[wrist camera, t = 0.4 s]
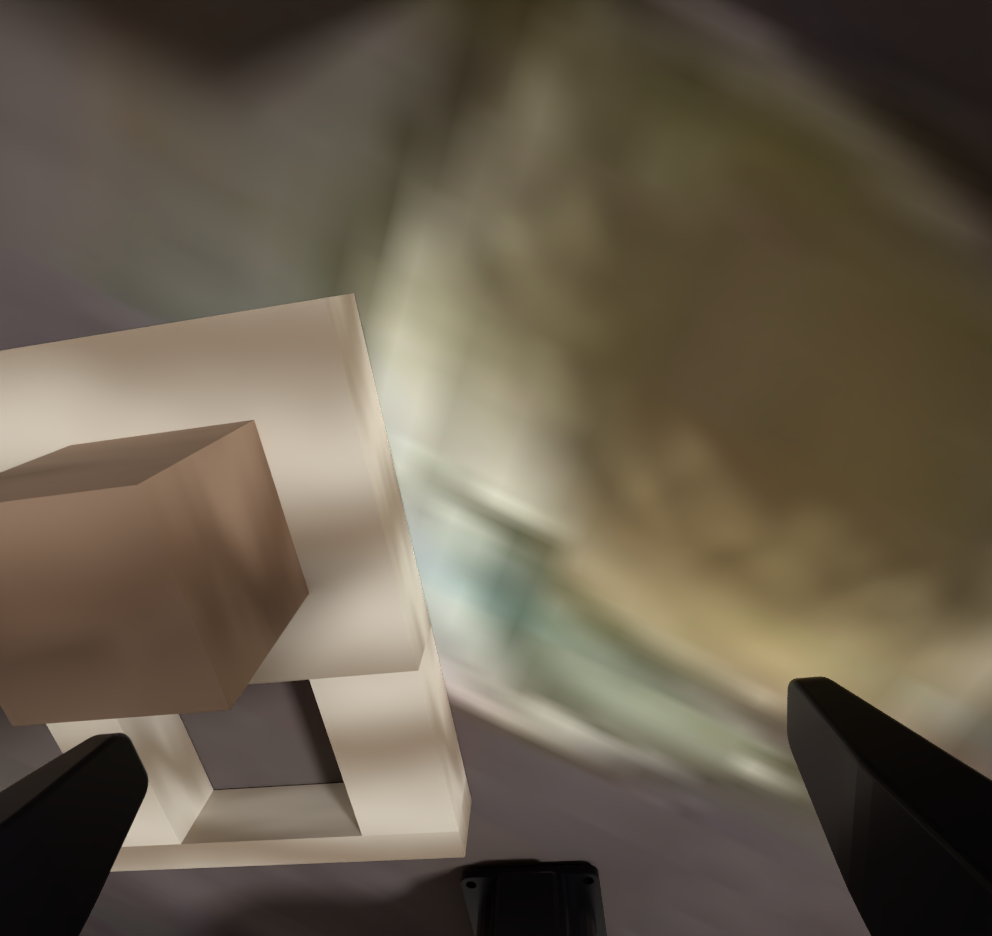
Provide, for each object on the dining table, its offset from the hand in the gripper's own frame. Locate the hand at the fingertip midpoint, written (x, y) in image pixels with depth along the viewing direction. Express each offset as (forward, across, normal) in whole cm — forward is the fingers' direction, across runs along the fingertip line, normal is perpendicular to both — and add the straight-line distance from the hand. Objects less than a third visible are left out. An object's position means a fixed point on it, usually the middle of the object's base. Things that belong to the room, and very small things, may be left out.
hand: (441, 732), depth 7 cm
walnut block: (+9, +10, 0) cm, 13 cm away
